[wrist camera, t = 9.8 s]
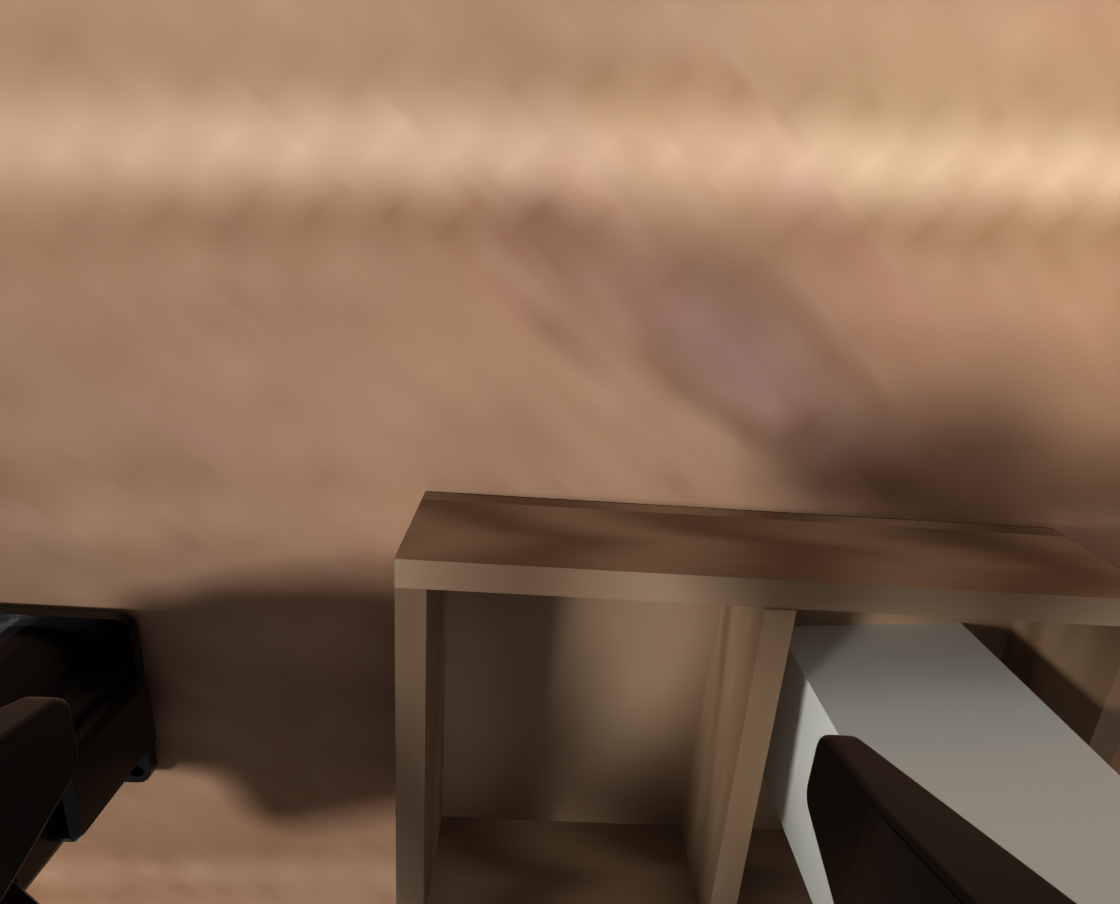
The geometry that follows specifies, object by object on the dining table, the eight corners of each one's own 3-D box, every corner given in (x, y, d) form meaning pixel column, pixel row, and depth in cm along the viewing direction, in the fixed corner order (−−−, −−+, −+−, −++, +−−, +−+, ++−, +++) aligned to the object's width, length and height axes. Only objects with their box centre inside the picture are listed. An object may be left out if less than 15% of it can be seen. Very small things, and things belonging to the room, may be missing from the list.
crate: (422, 819, 25) (396, 943, 21) (425, 491, 21) (393, 560, 17) (951, 840, 26) (1033, 965, 22) (1052, 528, 22) (1178, 603, 17)
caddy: (762, 774, 24) (902, 1133, 14) (776, 626, 22) (948, 927, 13) (931, 770, 24) (1181, 1124, 15) (960, 622, 22) (1269, 918, 13)
